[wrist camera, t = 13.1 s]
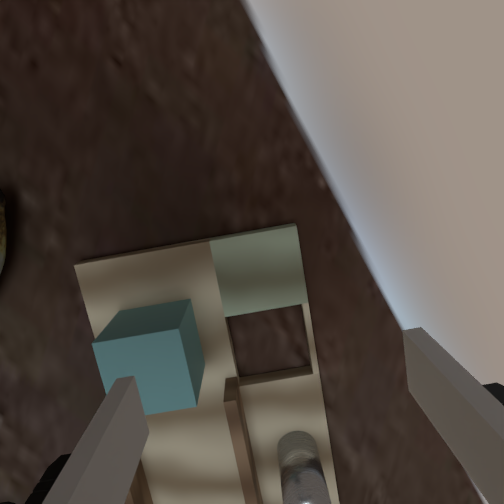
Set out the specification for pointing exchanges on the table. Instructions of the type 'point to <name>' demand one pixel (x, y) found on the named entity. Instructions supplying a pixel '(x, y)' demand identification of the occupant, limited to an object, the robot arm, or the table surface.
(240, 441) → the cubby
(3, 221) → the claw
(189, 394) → the block
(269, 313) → the table surface
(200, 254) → the board
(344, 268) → the table surface
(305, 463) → the grey knob
